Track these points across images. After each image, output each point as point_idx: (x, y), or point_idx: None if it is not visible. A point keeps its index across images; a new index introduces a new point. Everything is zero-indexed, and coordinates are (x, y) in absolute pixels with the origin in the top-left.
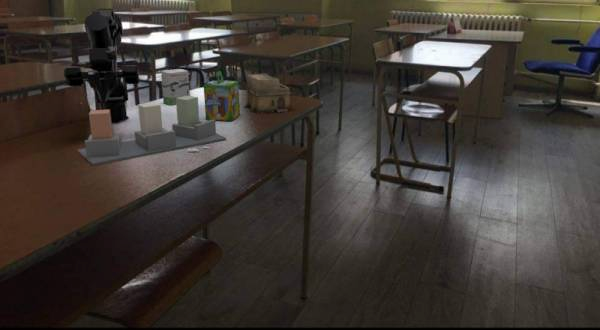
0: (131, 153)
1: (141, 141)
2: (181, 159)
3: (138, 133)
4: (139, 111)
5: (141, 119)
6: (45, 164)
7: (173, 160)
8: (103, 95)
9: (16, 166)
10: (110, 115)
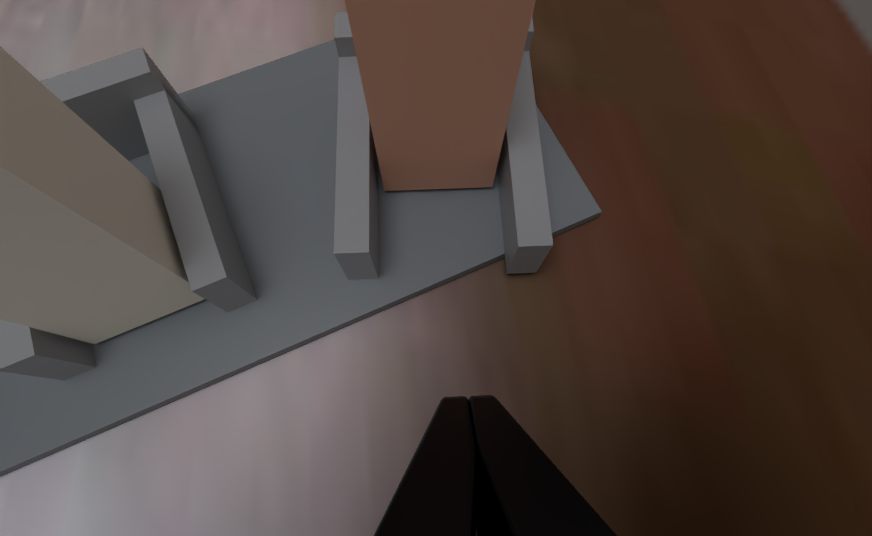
0: (287, 90)
1: (208, 185)
2: (58, 12)
3: (200, 213)
4: (53, 182)
5: (100, 191)
6: (698, 56)
7: (98, 6)
8: (470, 452)
9: (827, 54)
10: (351, 29)
